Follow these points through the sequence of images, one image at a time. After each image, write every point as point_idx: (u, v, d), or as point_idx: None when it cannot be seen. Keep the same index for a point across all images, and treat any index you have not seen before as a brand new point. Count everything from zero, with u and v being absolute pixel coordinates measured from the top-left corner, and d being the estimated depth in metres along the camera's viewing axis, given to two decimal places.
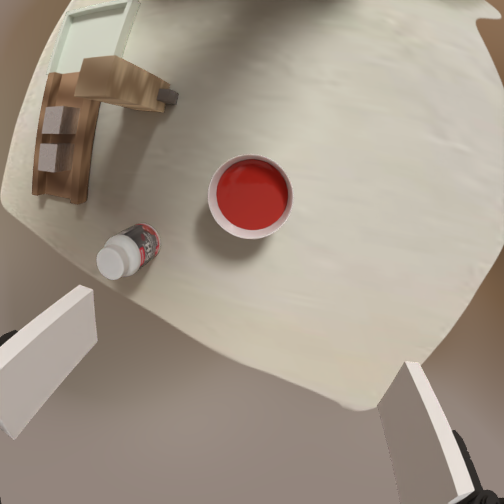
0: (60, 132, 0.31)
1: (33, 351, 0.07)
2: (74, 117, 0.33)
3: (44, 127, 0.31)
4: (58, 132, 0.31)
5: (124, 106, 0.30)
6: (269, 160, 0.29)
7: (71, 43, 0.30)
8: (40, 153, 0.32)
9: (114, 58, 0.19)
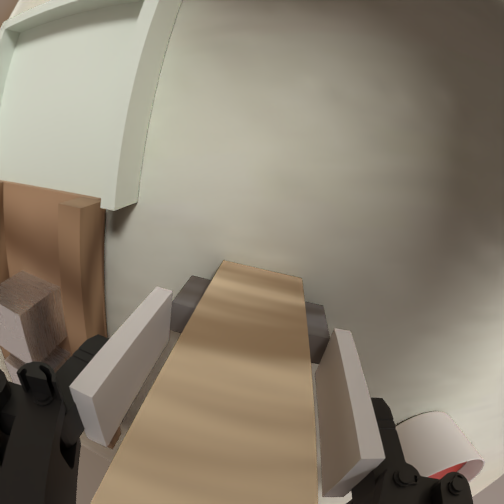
0: None
1: (131, 354, 0.08)
2: (53, 313, 0.15)
3: None
4: None
5: None
6: None
7: (13, 99, 0.12)
8: (12, 376, 0.14)
9: None
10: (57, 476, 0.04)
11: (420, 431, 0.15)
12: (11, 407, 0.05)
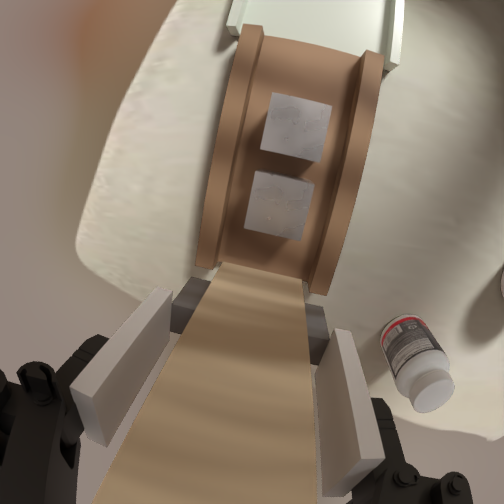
0: (320, 159, 0.18)
1: (131, 354, 0.08)
2: None
3: (268, 137, 0.18)
4: (318, 159, 0.18)
5: None
6: None
7: None
8: (255, 193, 0.19)
9: None
10: (58, 476, 0.04)
11: None
12: (11, 407, 0.05)
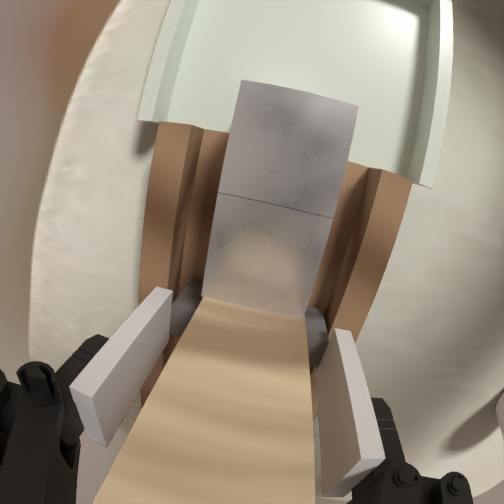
0: (333, 211, 0.10)
1: (130, 354, 0.08)
2: None
3: (233, 168, 0.09)
4: (330, 211, 0.10)
5: None
6: None
7: (223, 28, 0.11)
8: (218, 235, 0.10)
9: None
10: (57, 476, 0.04)
11: None
12: (11, 407, 0.05)
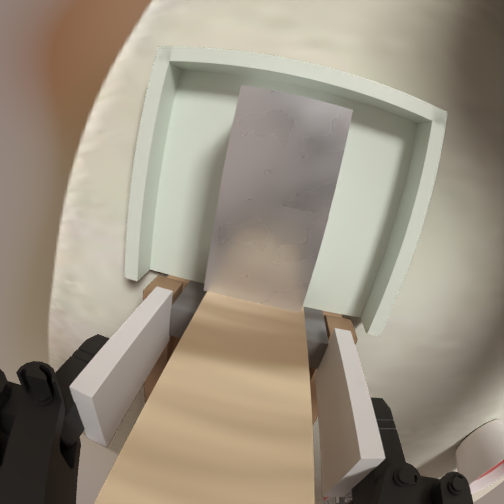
0: (328, 210, 0.10)
1: (131, 354, 0.08)
2: None
3: (234, 169, 0.10)
4: (325, 210, 0.10)
5: None
6: None
7: (192, 176, 0.14)
8: (220, 232, 0.11)
9: None
10: (58, 476, 0.04)
11: (490, 434, 0.17)
12: (11, 407, 0.05)
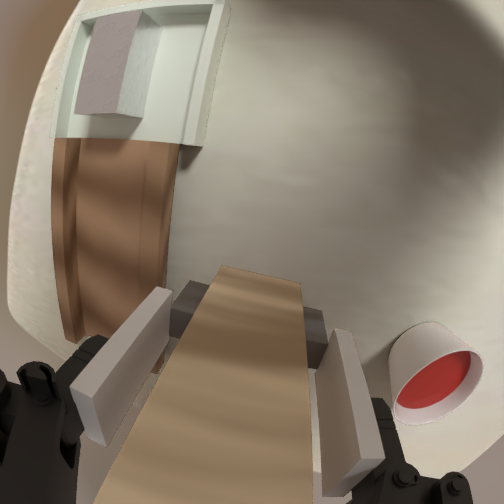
0: (130, 55, 0.15)
1: (131, 354, 0.08)
2: (153, 39, 0.17)
3: (90, 51, 0.14)
4: (126, 55, 0.15)
5: None
6: (472, 351, 0.17)
7: None
8: (82, 81, 0.15)
9: None
10: (57, 476, 0.04)
11: (421, 333, 0.21)
12: (11, 407, 0.05)
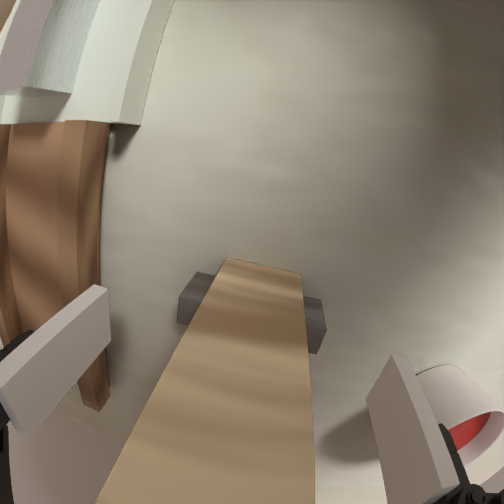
0: (50, 14, 0.08)
1: (51, 350, 0.07)
2: None
3: (15, 19, 0.07)
4: (46, 14, 0.08)
5: None
6: None
7: None
8: (3, 54, 0.08)
9: None
10: None
11: (435, 384, 0.15)
12: None
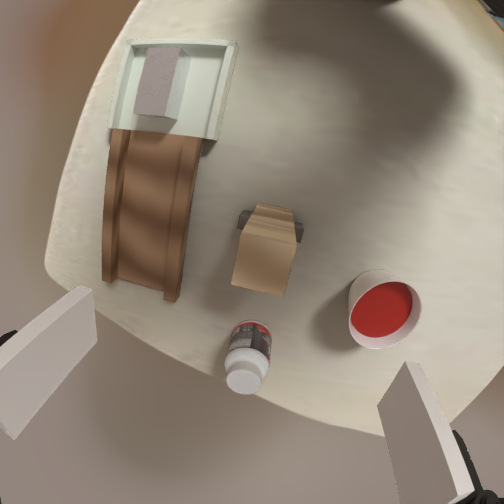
0: (173, 79, 0.26)
1: (33, 351, 0.07)
2: (186, 66, 0.28)
3: (144, 72, 0.25)
4: (171, 78, 0.26)
5: None
6: (408, 285, 0.28)
7: None
8: (139, 92, 0.26)
9: (295, 250, 0.20)
10: None
11: (370, 274, 0.33)
12: None
